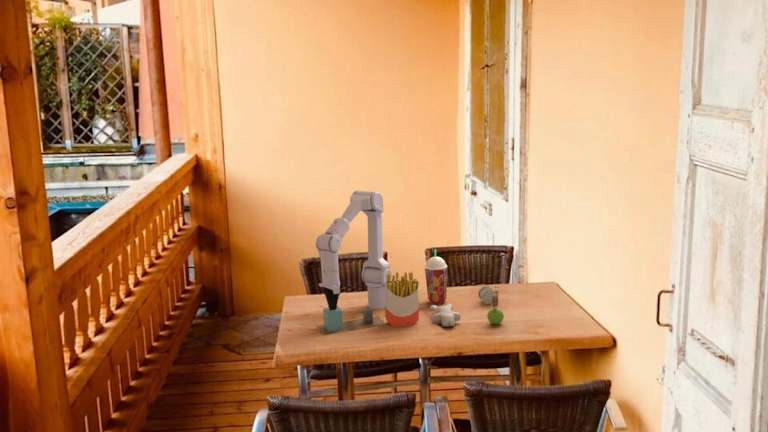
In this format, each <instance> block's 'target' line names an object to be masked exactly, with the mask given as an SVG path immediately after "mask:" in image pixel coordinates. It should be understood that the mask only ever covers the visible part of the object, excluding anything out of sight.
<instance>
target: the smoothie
mask: <svg viewBox="0 0 768 432" xmlns="http://www.w3.org/2000/svg"><path fill="white" fill-rule="evenodd" d="M433 251H434V253H433V254H434V256H432V257H430V258H429V259H428V260H426V262H425V265H424V273H425V283H426V294H427V300H428V301H429V303H430V304H431V305H441V304H445V302H446V300H447V290H448V289H447V288H448V287H447V285H448V284H447V283H448V265H447V264H446V261H445V259H443V258H442V257H440V256H437V249H436V248H435V249H434V250H433Z"/></svg>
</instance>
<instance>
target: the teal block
mask: <svg viewBox="0 0 768 432" xmlns="http://www.w3.org/2000/svg"><path fill="white" fill-rule="evenodd" d="M322 313H323V325H324V327H325V328H326V330H327V331H328V332H330V331H337V330H343V322H344V319H343V309H342V308H341V307H339V305H337V308H336V310H330V309H329V307H324V308H322Z"/></svg>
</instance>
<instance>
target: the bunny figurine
mask: <svg viewBox="0 0 768 432" xmlns="http://www.w3.org/2000/svg"><path fill="white" fill-rule="evenodd" d="M452 309H453V305H452V304H451V303H446V304H445V305H440V306H438V305H437V304H431V305H430V308H429V310H430V311H432V312H435V314H433V315H432V317H431V318H432V320H431V321H432V323H434V324H441V328H446V327H447V328H448V327H455V326H456V322H459V321H461V313H460V312H456V311H452Z"/></svg>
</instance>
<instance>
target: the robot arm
mask: <svg viewBox="0 0 768 432" xmlns="http://www.w3.org/2000/svg"><path fill="white" fill-rule="evenodd" d="M360 212H363V214H365V215H366V217H367V255H368V257H367V260H365V261H364V262H363V264H362V271H361V279H362V281H363V283H365V286H367V301H368V302H367V304H368V309H369V308H370V309H371V310H383V309H385V300H386V281H387V274H390V281H392V276H393V274H392V270H391V264H390V262H388V261H387V260H385V258H384V248H383V247H384V245H383V244H384V241H383V240H384V238H383V237H384V235H383V233H384V231H383V213H384V196H383V194H381V192H380V191H377V190H376V191H367V190H356V189H355V190H354V191H353V192H352V194H351V195H350V198H349V203H348V206H347V207H346V209H345V210H344V212H343V213H342V215H341V217H337V218H335V219H334V220H333V222H332V223H331V224H330V226H328V228H327V230H325V232H324V233H321V234H320V235H318V237H317V238H316V240H315V241H316V243H315V249H316V250H317V251H318V255H319V257H320V267H321V268H320V269H321V282H320V283H318V287H320V288H321V287H323V288H322V289H321V291H322V292H323V294H324V297H325V300H326V303H327V306H328V307H327V308H329V309H330V310H336V308H337V306H338V300H339V296H340V294H341V293H342V289H341V288H340V286H341V281H340V268H339V266H340V265H339V252H338V251H339V250H340V249H341V247H342V242H343V239H344V237H345V236H346V234H347V233H348V231H349V230H350V224H351V223H352V221H353V220H354V219H355V218H356V216H357V215H359V213H360Z"/></svg>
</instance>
